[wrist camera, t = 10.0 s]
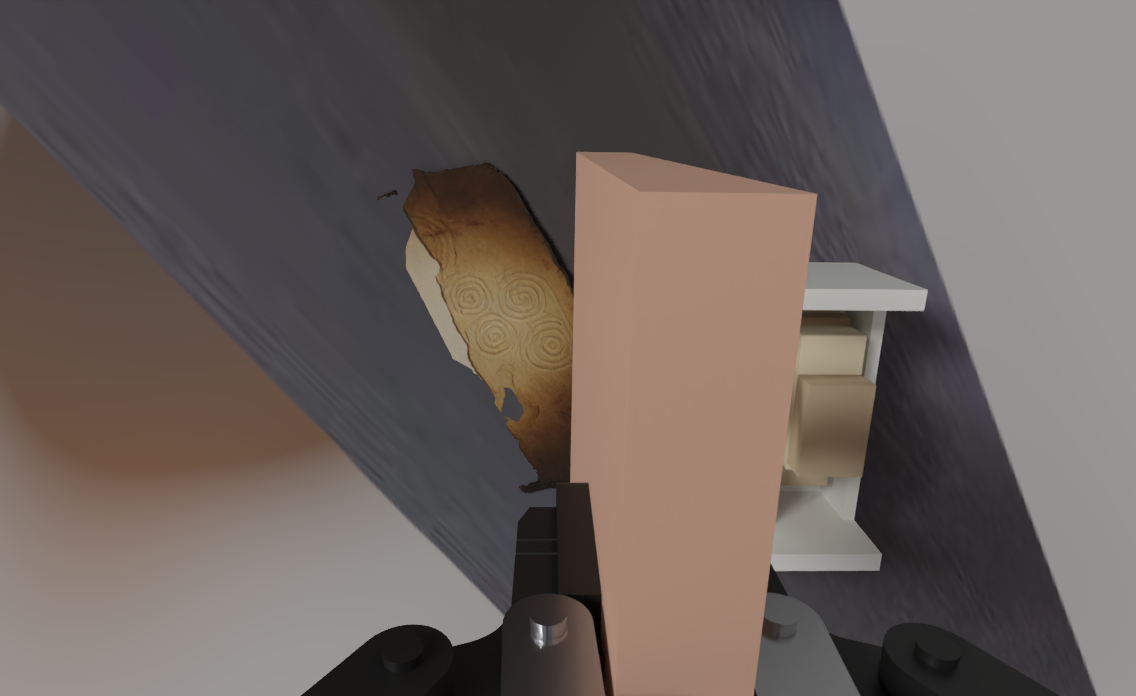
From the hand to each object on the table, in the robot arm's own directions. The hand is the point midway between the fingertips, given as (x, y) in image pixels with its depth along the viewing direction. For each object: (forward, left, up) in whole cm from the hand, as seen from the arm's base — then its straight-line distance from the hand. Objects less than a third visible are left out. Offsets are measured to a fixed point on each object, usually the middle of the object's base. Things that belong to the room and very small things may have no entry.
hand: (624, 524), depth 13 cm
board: (0, 0, -8) cm, 8 cm away
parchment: (+5, -4, -34) cm, 34 cm away
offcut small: (+9, +16, -27) cm, 33 cm away
